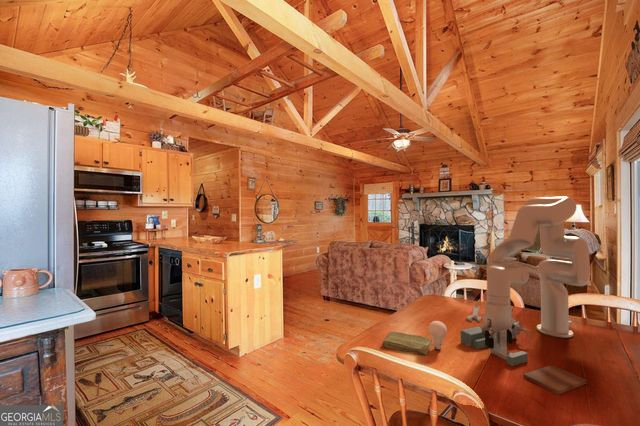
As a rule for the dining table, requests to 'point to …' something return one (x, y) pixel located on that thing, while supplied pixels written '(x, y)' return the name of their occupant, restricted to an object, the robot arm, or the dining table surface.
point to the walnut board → (555, 379)
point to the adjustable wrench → (474, 314)
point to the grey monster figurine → (518, 330)
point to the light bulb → (437, 333)
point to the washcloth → (407, 342)
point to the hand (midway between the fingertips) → (498, 344)
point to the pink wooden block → (500, 344)
